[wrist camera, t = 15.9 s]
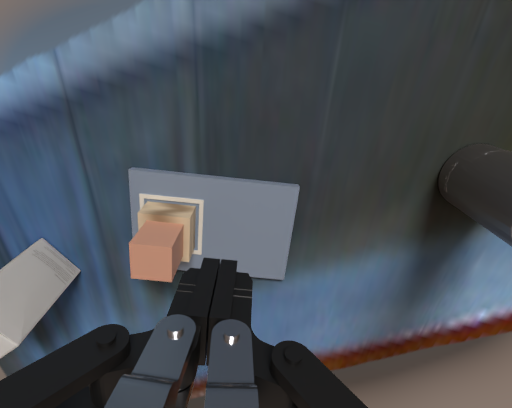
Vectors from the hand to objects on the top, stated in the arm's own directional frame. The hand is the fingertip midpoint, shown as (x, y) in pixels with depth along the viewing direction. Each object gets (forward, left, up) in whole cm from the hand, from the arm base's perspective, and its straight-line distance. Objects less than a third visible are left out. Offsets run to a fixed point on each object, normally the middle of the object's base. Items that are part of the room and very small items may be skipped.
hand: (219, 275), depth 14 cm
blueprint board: (+4, +14, -31) cm, 34 cm away
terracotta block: (+10, +14, -26) cm, 31 cm away
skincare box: (+30, +24, -31) cm, 49 cm away
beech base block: (+10, +14, -30) cm, 34 cm away
